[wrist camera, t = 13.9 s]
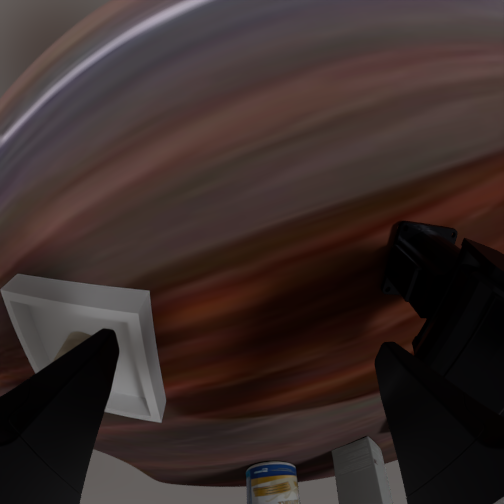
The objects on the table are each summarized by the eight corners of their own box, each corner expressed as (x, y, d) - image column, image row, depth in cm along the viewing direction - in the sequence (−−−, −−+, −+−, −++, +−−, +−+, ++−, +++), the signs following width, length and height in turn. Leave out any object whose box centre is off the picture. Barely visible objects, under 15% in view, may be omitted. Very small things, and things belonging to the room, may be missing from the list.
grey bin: (149, 290, 23) (138, 313, 20) (166, 400, 29) (161, 422, 26) (17, 273, 22) (0, 289, 19) (56, 376, 28) (47, 394, 25)
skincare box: (380, 447, 38) (403, 522, 23) (343, 463, 39) (359, 537, 25) (367, 433, 34) (393, 522, 20) (325, 451, 36) (341, 538, 22)
